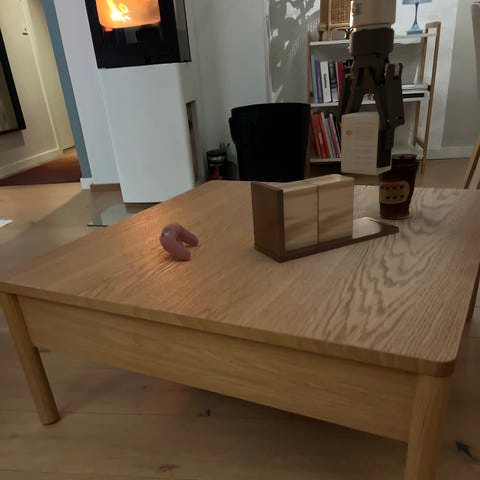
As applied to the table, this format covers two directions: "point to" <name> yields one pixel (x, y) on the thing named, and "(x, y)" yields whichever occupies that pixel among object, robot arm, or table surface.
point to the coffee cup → (398, 186)
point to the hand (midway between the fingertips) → (365, 163)
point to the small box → (360, 143)
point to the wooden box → (309, 217)
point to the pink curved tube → (177, 240)
